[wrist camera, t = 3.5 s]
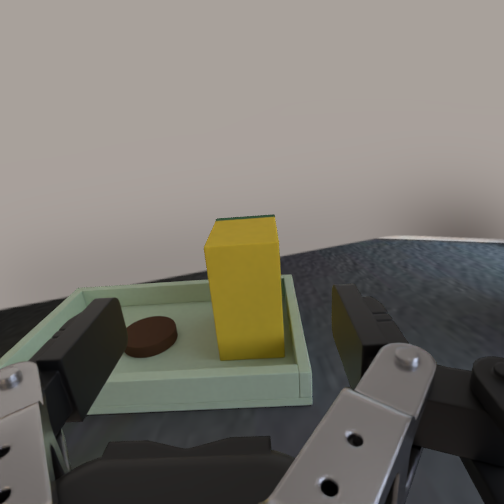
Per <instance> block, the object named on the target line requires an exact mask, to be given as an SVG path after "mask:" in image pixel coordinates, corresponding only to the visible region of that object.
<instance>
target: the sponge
mask: <svg viewBox="0 0 504 504" xmlns="http://www.w3.org/2000/svg"><path fill="white" fill-rule="evenodd" d="M204 253H205V260H206V266H207V274H208V281H209V288H210V295H211V301H212V308H213V315H214V322H215V329H216V336H217V343H218V350H219V357H220V361H225V360H245V359H264V358H284V357H285V345H284V326H283V308H282V290H281V271H280V253H279V240H278V234H277V227H276V221H275V215H261V216H247V217H233V218H219V219H216V221H215V224H214V226H213V228H212V230H211V233H210V235H209V237H208V239H207V242H206V244H205V246H204Z"/></svg>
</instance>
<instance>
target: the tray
mask: <svg viewBox="0 0 504 504" xmlns="http://www.w3.org/2000/svg"><path fill="white" fill-rule="evenodd" d="M281 290H282V308H283V326H284V345H285V357H284V358H264V359H245V360H225V361H220V357H219V350H218V343H217V336H216V329H215V322H214V315H213V308H212V301H211V295H210V288H209V281H208V280H196V281H180V282H165V283H149V284H133V285H119V286H103V287H87V288H78V289H77V290H75V291H74V292H73V293H72V294H71V295H70V296H69V297H68V298H67V299H65V300H64V301H63V302H62V303H61V304H60V305H59V306H58V307H57V308H56V309H54V310H53V311H52V312H51V313H50V314H49V315H48V316H47V317H46V318H45V319H43V320H42V321H41V322H40V323H39V324H38V325H37V326H36V327H35V328H34V329H32V330H31V331H30V332H29V333H28V334H27V335H26V336H25V337H24V338H23V339H21V340H20V341H19V342H18V343H17V344H16V345H15V346H14V347H13V348H12V349H10V350H9V351H8V352H7V353H6V354H5V355H4V356H3V357H2V358H1V359H0V369H1V368H3V367H6V366H8V365H11V364H14V363H18V362H23V361H28V360H29V359H30V358H31V357H32V356H33V355H34V354H35V353H36V352H37V351H38V350H39V349H40V348H41V347H42V346H43V345H44V344H45V343H46V342H47V341H48V340H49V339H52V336H53V335H54V334H55V333H56V332H57V331H59V329H60V328H61V327H62V326H63V325H64V324H65V323H66V322H67V321H68V320H69V319H71V318H72V317H74V316H76V315H77V314H79V313H80V312H82V311H83V310H84V309H85V308H86V307H87V306H88V305H89V304H90V303H91V302H92V301H93V300H94V299H96V298H113V297H116V298H117V299H118V300H119V302H120V305H121V309H122V313H123V317H124V321H125V325H126V328H127V327H128V326H129V325H131V324H132V323H134V322H136V321H138V320H141V319H144V318H147V317H152V316H165V317H169V318H171V319H173V320H174V322H175V323H176V328H177V333H178V337H177V340H176V342H175V343H174V344H173V345H172V346H171V347H170V348H169V349H168V350H166V351H164V352H162V353H160V354H158V355H155V356H152V357H147V358H134V357H131V356H128V355H127V354H126V353H125V352H124V353H123V355H122V356H121V358H120V360H119V361H118V363H117V365H116V366H115V368H114V370H113V371H112V373H111V375H110V376H109V378H108V380H107V381H106V383H105V385H104V386H103V388H102V390H101V391H100V393H99V395H98V396H97V398H96V400H95V401H94V403H93V405H92V406H91V408H90V410H89V411H88V413H87V415H92V414H115V413H138V412H160V411H183V410H206V409H229V408H252V407H275V406H298V405H312V371H311V366H310V362H309V357H308V352H307V347H306V342H305V338H304V333H303V328H302V323H301V318H300V314H299V309H298V304H297V299H296V294H295V290H294V285H293V280H292V275H284V276H283V275H281Z"/></svg>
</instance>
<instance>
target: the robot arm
mask: <svg viewBox="0 0 504 504" xmlns="http://www.w3.org/2000/svg"><path fill="white" fill-rule="evenodd" d="M332 331H333V337H334V340H335V343H336V346H337V349H338V352H339V355H340V357H341V360H342V363H343V366H344V369H345V372H346V375H347V378H348V381H349V383H350V386H351V388H349V387H345V388H344V389H343V390H342V391H341V392H340V394H339V395H338V397H337V398H336V400H335V401H334V402H333V404H332V405H331V407H330V408H329V410H328V411H327V413H326V414H325V416H324V417H323V419H322V420H321V422H320V423H319V425H318V426H317V428H316V429H315V431H314V432H313V433H312V435H311V436H310V438H309V439H308V441H307V442H306V444H305V445H304V447H303V448H302V450H301V451H300V453H299V454H298V456H297V457H296V459H295V458H293V457H291V456H289V455H287V454H284V453H281V452H278V451H274V450H271V440H270V436H255V437H230V438H226V439H222V440H219V441H215V442H211V443H207V444H204V445H200V446H196V447H193V448H188V449H184V448H179V447H174V446H170V445H165V444H161V443H157V442H152V441H121V442H109V443H108V445H107V447H106V449H105V451H104V453H103V455H102V457H100V458H97V459H94V460H91V461H89V462H86V463H84V464H82V465H80V466H78V467H76V468H74V469H73V470H72V469H71V465H70V460H69V455H68V450H67V446H66V441H65V436H64V434H63V431H62V427H63V425H64V424H65V422H82V421H83V420H84V418H85V416H86V415H87V413H88V411H89V410H90V408H91V406H92V405H93V403H94V401H95V400H96V398H97V396H98V395H99V393H100V391H101V390H102V388H103V386H104V385H105V383H106V381H107V380H108V378H109V376H110V375H111V373H112V371H113V370H114V368H115V366H116V365H117V363H118V361H119V360H120V358H121V356H122V355H123V353H124V351H125V349H126V347H127V343H128V333H127V328H126V325H125V321H124V317H123V313H122V309H121V305H120V302H119V300H118V299H117V298H116V297H113V298H96V299H94V300H93V301H92V302H91V303H90V304H89V305H88V306H87V307H86V308H85V309H84V310H83V311H82V312H80V313H79V314H77V315H76V316H74V317H72V318H71V319H69V320H68V321H67V322H66V323H65V324H64V325H63V326H62V327H61V328H60V329H59V331H57V332H56V333H55V334H54V335H53V336H52V339H49V340H48V341H47V342H46V343H45V344H44V345H43V346H42V347H41V348H40V349H39V350H38V351H37V352H36V353H35V354H34V355H33V356H32V357H31V358H30V359H29V360H28V361H23V362H18V363H14V364H11V365H8V366H6V367H3V368H1V369H0V504H405V503H406V500H407V497H408V494H409V491H410V488H411V485H412V482H413V479H414V476H415V472H416V469H417V466H418V463H419V460H420V457H421V454H422V451H423V448H428V449H432V450H436V451H440V452H444V453H448V454H452V455H456V456H459V457H460V458H461V460H462V462H463V464H464V466H465V468H466V470H467V472H468V473H469V475H470V477H471V479H472V481H473V483H474V485H475V487H476V488H477V490H478V492H479V494H480V496H481V498H482V500H483V502H484V503H485V504H504V358H501V357H482V358H479V359H477V360H476V361H475V362H474V364H473V368H472V371H468V370H462V369H456V368H450V367H445V366H441V365H437V364H436V362H435V360H434V358H433V357H432V356H431V355H430V354H429V353H428V352H427V351H425V350H424V349H422V348H420V347H417V346H415V345H411V344H409V343H408V341H407V340H406V338H405V337H404V335H403V334H402V332H401V331H400V329H399V328H398V327H397V325H396V324H395V322H394V321H393V320H392V318H391V316H390V315H389V314H388V312H387V310H386V309H385V308H384V306H383V305H382V303H380V302H379V301H377V300H376V299H374V298H373V297H371V296H366V297H362V295H361V294H360V292H359V290H358V289H357V287H356V285H355V284H341V285H333V288H332Z"/></svg>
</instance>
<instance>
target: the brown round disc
mask: <svg viewBox="0 0 504 504" xmlns="http://www.w3.org/2000/svg"><path fill="white" fill-rule="evenodd" d="M127 333H128V343H127V347H126V349H125V351H124V352H125V353H126V354H127V355H128V356H131V357H134V358H147V357H152V356H155V355H158V354H160V353H162V352H164V351H166V350H168V349H169V348H170V347H171V346H172V345H173V344H174V343H175V342H176V340H177V337H178V333H177V328H176V323H175V322H174V320H173V319H171V318H169V317H165V316H152V317H147V318H144V319H141V320H138V321H136V322H134V323H132V324H131V325H129V326H128V327H127Z"/></svg>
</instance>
